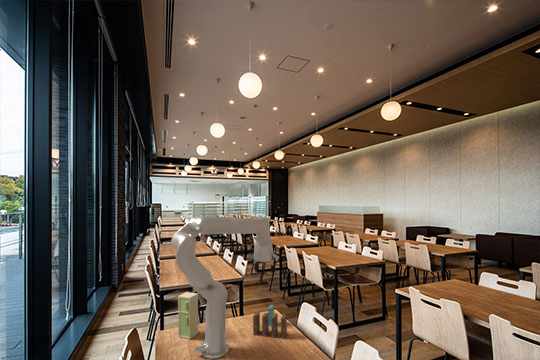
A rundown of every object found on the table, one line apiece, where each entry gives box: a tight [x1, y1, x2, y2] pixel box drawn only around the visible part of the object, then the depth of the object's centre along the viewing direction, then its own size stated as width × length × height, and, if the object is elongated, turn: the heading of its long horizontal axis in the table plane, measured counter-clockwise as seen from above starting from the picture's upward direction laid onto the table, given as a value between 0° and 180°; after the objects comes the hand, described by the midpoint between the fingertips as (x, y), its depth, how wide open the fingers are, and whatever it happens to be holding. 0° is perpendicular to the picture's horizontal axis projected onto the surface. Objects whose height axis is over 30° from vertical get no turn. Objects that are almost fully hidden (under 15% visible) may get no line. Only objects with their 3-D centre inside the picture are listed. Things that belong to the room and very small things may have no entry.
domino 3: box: [267, 304, 275, 328], centre depth 153 cm, size 2×5×10 cm, turn 165°
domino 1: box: [252, 311, 261, 337], centre depth 143 cm, size 2×5×10 cm, turn 165°
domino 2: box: [261, 312, 269, 338], centre depth 142 cm, size 2×5×10 cm, turn 165°
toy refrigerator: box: [177, 291, 199, 340], centre depth 142 cm, size 8×7×21 cm
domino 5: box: [280, 314, 288, 340], centre depth 139 cm, size 2×5×10 cm, turn 165°
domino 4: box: [271, 313, 279, 339], centre depth 140 cm, size 2×5×10 cm, turn 165°
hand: (264, 271), depth 145 cm, fingers open, 9 cm apart
